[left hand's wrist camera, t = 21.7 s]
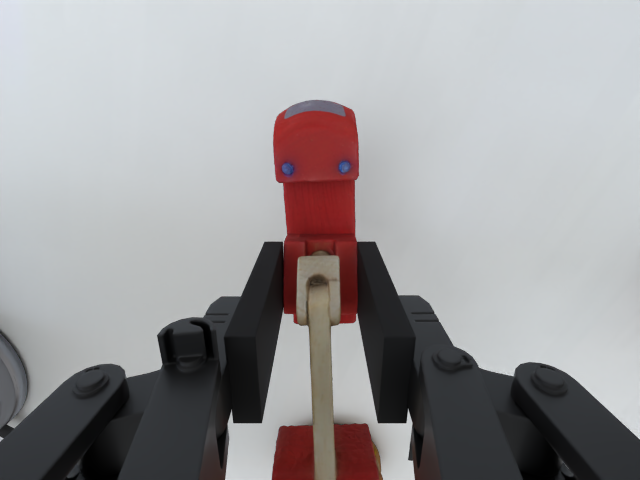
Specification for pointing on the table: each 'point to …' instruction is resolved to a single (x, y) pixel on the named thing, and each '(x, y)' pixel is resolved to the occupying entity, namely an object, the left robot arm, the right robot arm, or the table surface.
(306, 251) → the toy fire truck
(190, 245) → the table surface
